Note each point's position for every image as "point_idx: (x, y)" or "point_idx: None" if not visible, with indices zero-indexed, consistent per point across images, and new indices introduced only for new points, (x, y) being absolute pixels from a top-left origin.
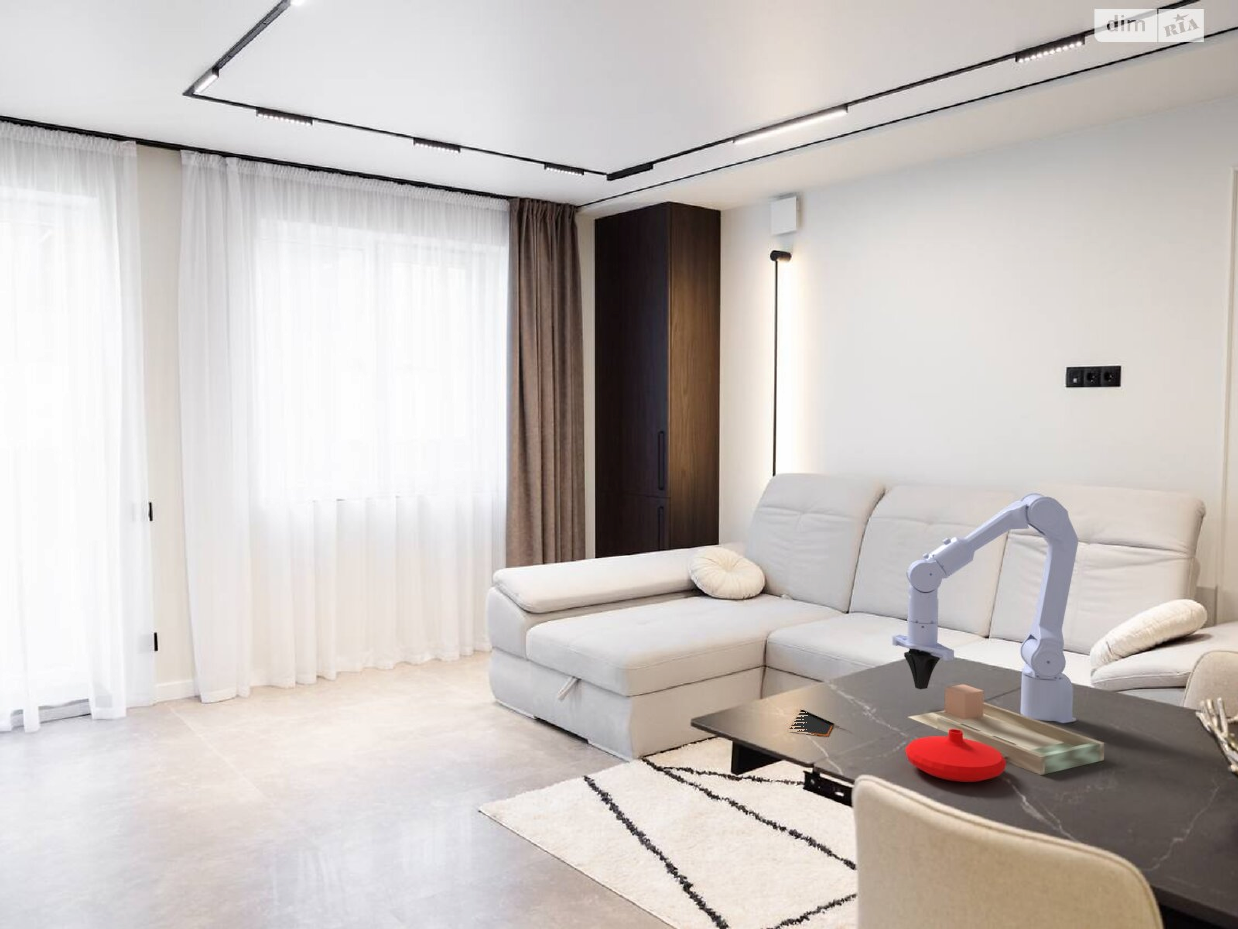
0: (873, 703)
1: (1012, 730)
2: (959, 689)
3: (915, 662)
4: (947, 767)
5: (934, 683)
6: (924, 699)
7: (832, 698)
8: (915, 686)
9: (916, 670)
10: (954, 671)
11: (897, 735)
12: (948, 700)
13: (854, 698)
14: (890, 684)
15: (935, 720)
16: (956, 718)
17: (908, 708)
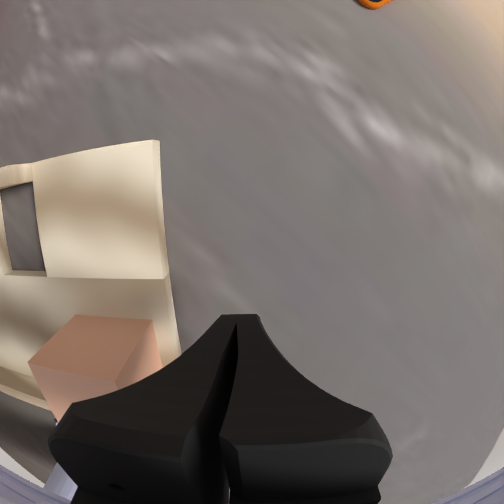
0: (408, 191)
1: (8, 342)
2: (78, 396)
3: (187, 404)
4: None
5: (404, 455)
6: (344, 384)
7: (488, 110)
8: (252, 315)
9: (214, 367)
10: (411, 493)
11: (83, 35)
12: (116, 345)
13: (469, 175)
14: (473, 373)
15: (86, 218)
16: (87, 302)
17: (300, 273)
